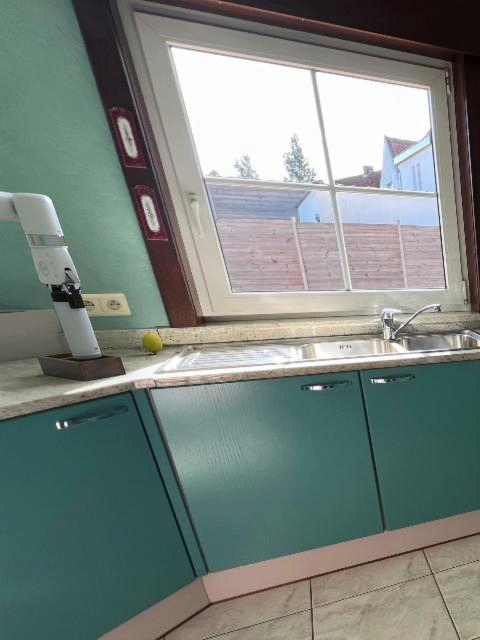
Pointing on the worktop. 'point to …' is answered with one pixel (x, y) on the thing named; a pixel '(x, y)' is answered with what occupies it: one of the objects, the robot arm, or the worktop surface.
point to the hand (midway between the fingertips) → (70, 307)
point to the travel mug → (76, 328)
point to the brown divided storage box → (81, 366)
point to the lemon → (152, 343)
